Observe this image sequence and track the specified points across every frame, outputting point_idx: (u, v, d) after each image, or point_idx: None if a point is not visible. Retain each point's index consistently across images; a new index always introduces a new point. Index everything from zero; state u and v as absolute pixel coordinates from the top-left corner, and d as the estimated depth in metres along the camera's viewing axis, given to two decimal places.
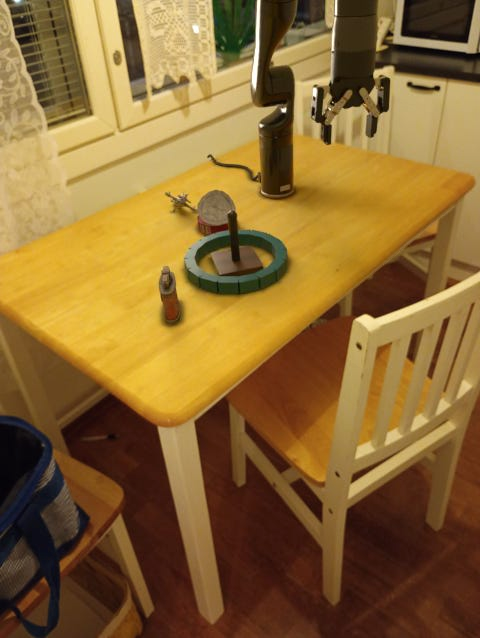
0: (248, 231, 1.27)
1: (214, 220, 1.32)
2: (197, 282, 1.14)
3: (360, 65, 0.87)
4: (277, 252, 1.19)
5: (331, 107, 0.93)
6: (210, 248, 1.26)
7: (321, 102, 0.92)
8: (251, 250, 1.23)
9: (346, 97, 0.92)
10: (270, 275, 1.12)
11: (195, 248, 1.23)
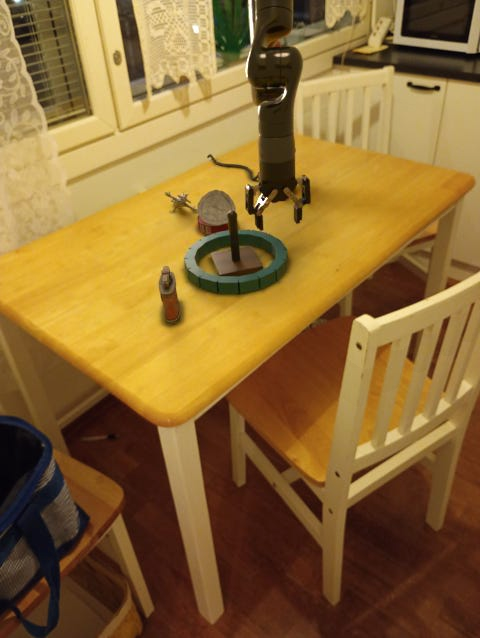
0: (248, 231, 1.27)
1: (214, 220, 1.32)
2: (197, 282, 1.14)
3: (281, 173, 1.07)
4: (277, 252, 1.19)
5: (261, 202, 1.13)
6: (210, 248, 1.26)
7: (252, 199, 1.11)
8: (251, 250, 1.23)
9: (272, 195, 1.11)
10: (270, 275, 1.12)
11: (195, 248, 1.23)
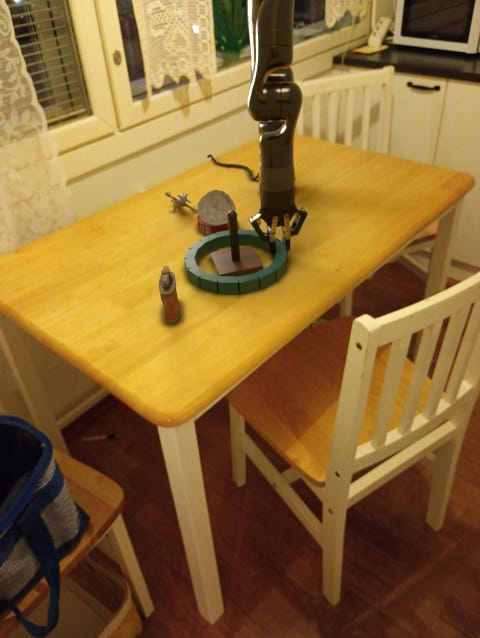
0: (248, 231, 1.27)
1: (214, 220, 1.32)
2: (197, 282, 1.14)
3: (281, 201, 1.10)
4: (277, 252, 1.19)
5: (269, 229, 1.18)
6: (210, 248, 1.26)
7: (259, 229, 1.16)
8: (251, 250, 1.23)
9: (275, 221, 1.15)
10: (270, 275, 1.12)
11: (195, 248, 1.23)
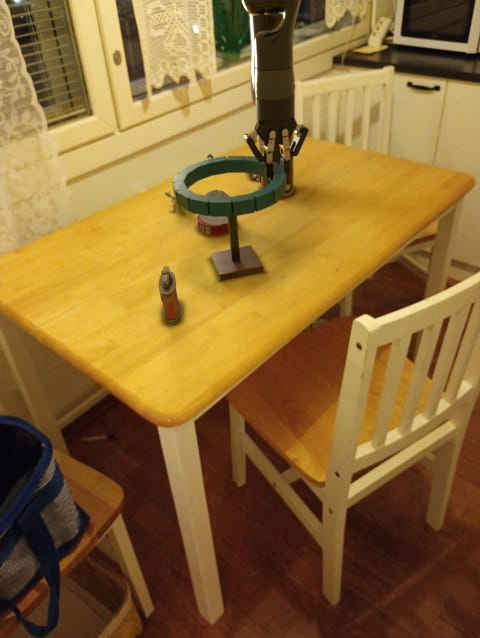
0: (243, 157, 1.16)
1: (214, 220, 1.32)
2: (187, 205, 1.03)
3: (279, 111, 0.99)
4: (275, 174, 1.08)
5: (266, 148, 1.06)
6: (202, 175, 1.15)
7: (255, 147, 1.05)
8: (251, 250, 1.23)
9: (272, 137, 1.04)
10: (267, 195, 1.01)
11: (185, 173, 1.12)
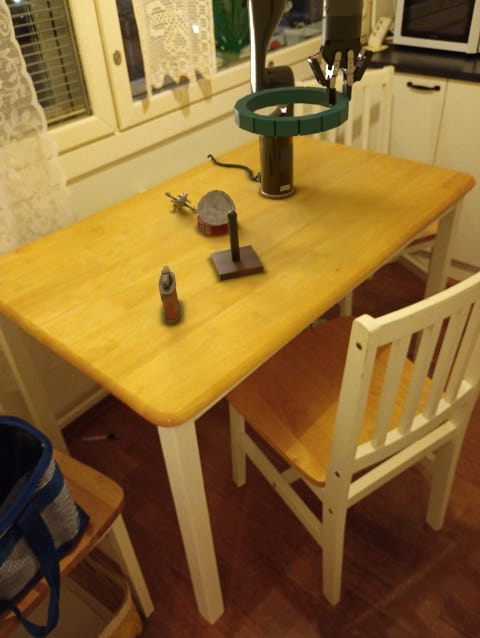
0: (302, 87, 1.16)
1: (214, 220, 1.32)
2: (251, 126, 1.03)
3: (347, 29, 0.98)
4: (338, 99, 1.07)
5: (330, 72, 1.06)
6: (261, 104, 1.15)
7: (319, 69, 1.04)
8: (251, 250, 1.23)
9: (337, 59, 1.03)
10: (333, 115, 1.01)
11: (245, 100, 1.11)
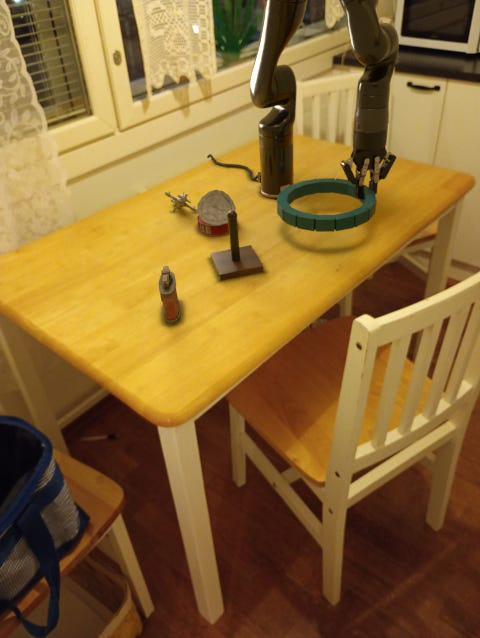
0: (333, 179, 1.34)
1: (214, 220, 1.32)
2: (293, 221, 1.21)
3: (375, 142, 1.17)
4: (366, 195, 1.25)
5: (359, 173, 1.24)
6: (298, 195, 1.33)
7: (350, 171, 1.22)
8: (251, 250, 1.23)
9: (366, 164, 1.21)
10: (364, 213, 1.18)
11: (285, 193, 1.29)
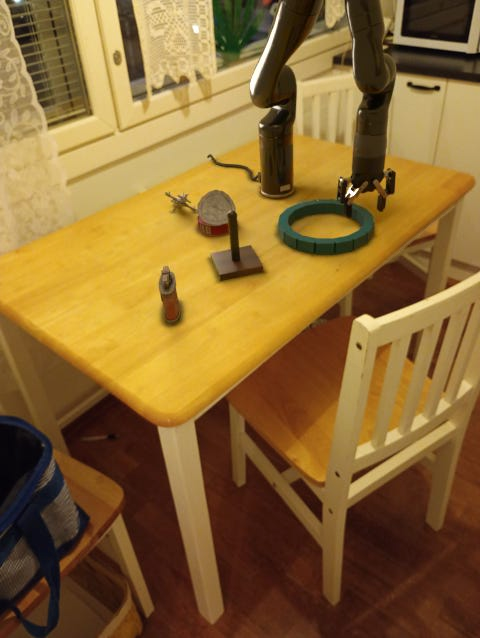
0: (332, 200, 1.37)
1: (214, 220, 1.32)
2: (294, 244, 1.24)
3: (374, 167, 1.21)
4: (364, 218, 1.29)
5: (352, 192, 1.27)
6: (298, 216, 1.36)
7: (345, 190, 1.25)
8: (251, 250, 1.23)
9: (363, 186, 1.25)
10: (362, 237, 1.22)
11: (286, 215, 1.33)
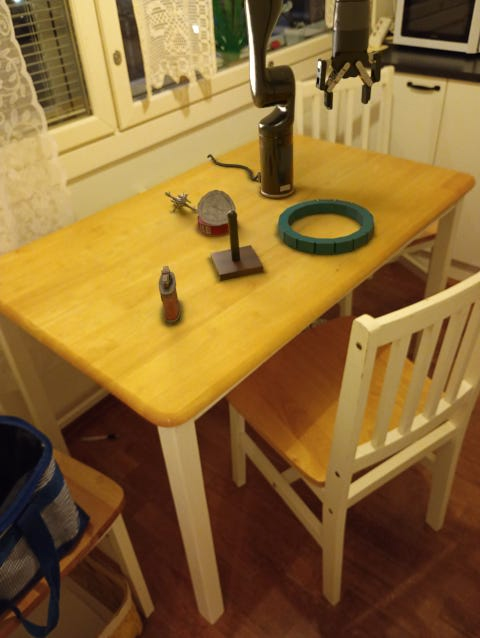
0: (332, 200, 1.37)
1: (214, 220, 1.32)
2: (294, 244, 1.24)
3: (356, 42, 1.07)
4: (364, 218, 1.29)
5: (332, 77, 1.13)
6: (298, 216, 1.36)
7: (324, 73, 1.12)
8: (251, 250, 1.23)
9: (345, 69, 1.12)
10: (362, 237, 1.22)
11: (286, 215, 1.33)
